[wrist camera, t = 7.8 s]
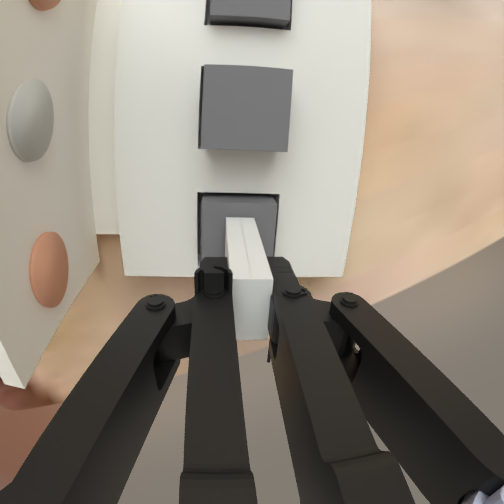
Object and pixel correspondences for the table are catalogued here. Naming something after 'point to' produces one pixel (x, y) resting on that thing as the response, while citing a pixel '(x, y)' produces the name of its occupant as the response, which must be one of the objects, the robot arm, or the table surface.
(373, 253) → the table surface
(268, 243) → the outer button
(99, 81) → the pattern sign
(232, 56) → the console
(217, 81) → the middle button
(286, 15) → the outer button
